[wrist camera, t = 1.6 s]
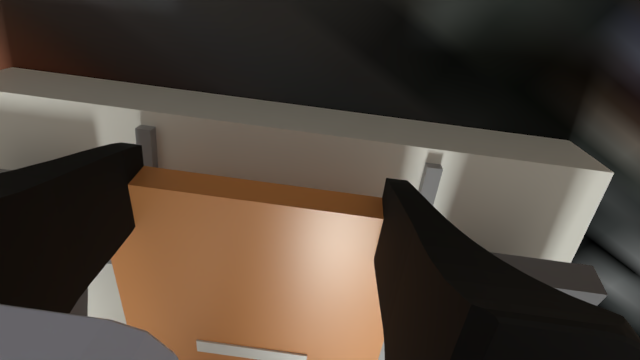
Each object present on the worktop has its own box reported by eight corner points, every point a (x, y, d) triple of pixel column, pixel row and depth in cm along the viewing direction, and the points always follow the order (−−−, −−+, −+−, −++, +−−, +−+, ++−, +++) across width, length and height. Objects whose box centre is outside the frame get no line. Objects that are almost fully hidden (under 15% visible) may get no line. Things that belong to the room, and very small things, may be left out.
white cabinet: (491, 328, 20) (524, 407, 16) (55, 268, 20) (-12, 333, 17) (568, 140, 16) (637, 189, 12) (12, 67, 16) (-93, 92, 12)
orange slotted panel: (368, 362, 16) (369, 388, 15) (145, 332, 16) (133, 356, 15) (416, 202, 12) (420, 225, 11) (110, 161, 12) (89, 181, 11)
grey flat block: (515, 353, 16) (523, 382, 15) (412, 339, 16) (415, 367, 15) (592, 265, 12) (609, 297, 11) (458, 247, 12) (464, 277, 11)
